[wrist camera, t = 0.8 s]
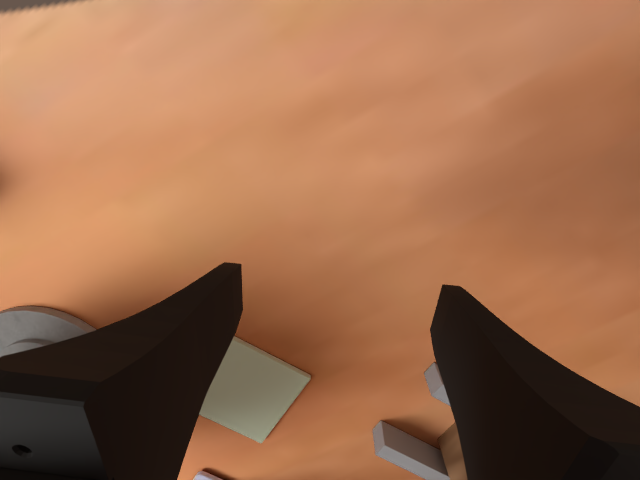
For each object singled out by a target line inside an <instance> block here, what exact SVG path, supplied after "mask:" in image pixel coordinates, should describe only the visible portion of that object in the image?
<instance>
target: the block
mask: <svg viewBox="0 0 640 480" xmlns="http://www.w3.org/2000/svg"><path fill="white" fill-rule="evenodd" d="M438 443H439V446H440V449H441V452H442V456H443V459H444V462H445V465H446V468H447V472H448V475H449V478H450V480H467V474H466V469H465V464H464V458H463V454H462V449H461V444H460V439H459V435H458V430H457V426H456V422H455V423H454V424H453V425H452V426H451V427H450V428H449V429H448V430H447V431H446V432H444V433H443V434H442V435H441V436H440V437H439V438H438Z"/></svg>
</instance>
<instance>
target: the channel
mask: <svg viewBox="0 0 640 480" xmlns="http://www.w3.org/2000/svg"><path fill="white" fill-rule="evenodd" d="M424 375H425V378H426V381H427V384H428V387H429V390H430V393H431V396H433V397H434V398H436V399H438V400H440V401H442V402H444V403H446V404H448V405H449V406H450V403H449V400H448V397H447V393H446V390H445V387H444V384H443V381H442V378H441V375H440V372H439V368H438V365H437V364H436V363H433V364H432V365H431V366H430V367H429V368H428V369H427V370H426V371H425V373H424ZM373 438H374V446H375V455H377V456H379V457H381V458H383V459H385V460H387V461H389V462H391V463H393V464H395V465H397V466H399V467H401V468H403V469H406V470H408V471H410V472H412V473H414V474H416V475H418V476H420V477H422V478H424V479H426V480H450V478H449V475H448V472H447V468H446V465H445V462H444V459H443V456H442V452H441V450H439V449H437V448H435V447H433V446H431V445H429V444H427V443H425V442H423V441H421V440H419V439H417V438H415V437H413V436H411V435H409V434H407V433H405V432H403V431H401V430H399V429H397V428H395V427H393V426H391V425H389V424H387V423H385V422H383V421H380V422H379V423H378V424H377V425H376V426H375V427H374V429H373Z"/></svg>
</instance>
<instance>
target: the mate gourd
mask: <svg viewBox="0 0 640 480" xmlns="http://www.w3.org/2000/svg"><path fill="white" fill-rule="evenodd" d="M95 330H96V329H95V328H93V327H92V326H90V325H89V324H87V323H86V322H84V321H82V320H81V319H79V318H76V317H74V316H72V315H70V314H67V313H65V312H62V311H58V310H55V309H51V308H46V307H38V306H20V307H14V308H10V309H6V310H3V311H1V312H0V357H1V356H4V355H9V354H13V353H17V352H22V351H26V350H30V349H34V348H38V347H42V346H46V345H50V344H53V343H57V342H60V341H64V340H67V339H70V338H74V337H77V336H80V335H83V334H86V333H89V332H92V331H95Z"/></svg>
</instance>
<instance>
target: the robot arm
mask: <svg viewBox="0 0 640 480" xmlns="http://www.w3.org/2000/svg"><path fill="white" fill-rule="evenodd" d="M242 311H243V302H242V275H241V264H235V263H225V262H224V263H223V264H221V265H219V266H218V267H216V268H215V269H213V270H212V271H210V272H209V273H207V274H206V275H204V276H203V277H201V278H199V279H198V280H196V281H195V282H193V283H192V284H190V285H189V286H187V287H185V288H184V289H182V290H180V291H179V292H177V293H175V294H173V295H172V296H170V297H168V298H167V299H165V300H163V301H161V302H159V303H158V304H156V305H154V306H152V307H150V308H148V309H146V310H144V311H141V312H139V313H137V314H135V315H133V316H131V317H128V318H126V319H123V320H121V321H118V322H116V323H113V324H111V325H108V326H105V327H103V328H100V329H98V330H95V331H92V332H89V333H86V334H83V335H80V336H77V337H74V338H70V339H67V340H64V341H60V342H57V343H53V344H50V345H46V346H42V347H38V348H34V349H30V350H26V351H22V352H17V353H13V354H9V355H4V356H1V357H0V480H177V478H178V475H179V472H180V469H181V465H182V462H183V459H184V456H185V453H186V450H187V447H188V444H189V441H190V438H191V436H192V433H193V430H194V427H195V424H196V421H197V418H198V416H199V413H200V410H201V407H202V405H203V402H204V399H205V397H206V394H207V392H208V390H209V387H210V385H211V383H212V381H213V379H214V377H215V375H216V373H217V371H218V369H219V367H220V364H221V362H222V360H223V358H224V356H225V354H226V352H227V350H228V348H229V346H230V344H231V342H232V339H233V337H234V335H235V333H236V330H237V327H238V324H239V321H240V317H241V314H242ZM430 332H431V338H432V345H433V350H434V355H435V359H436V362H437V365H438V368H439V372H440V375H441V378H442V381H443V384H444V387H445V390H446V393H447V397H448V400H449V403H450V406H451V409H452V412H453V415H454V419H455V422H456V426H457V430H458V435H459V439H460V444H461V449H462V454H463V458H464V464H465V469H466V474H467V480H640V407H639V406H637V405H635V404H633V403H631V402H629V401H626V400H624V399H622V398H620V397H618V396H616V395H615V394H613V393H611V392H609V391H607V390H605V389H603V388H601V387H599V386H598V385H596V384H594V383H592V382H591V381H589V380H587V379H585V378H584V377H582V376H580V375H578V374H577V373H575V372H573V371H571V370H570V369H568V368H567V367H565V366H563V365H562V364H560V363H559V362H557V361H556V360H554V359H553V358H551V357H549V356H548V355H546V354H545V353H543V352H542V351H540V350H539V349H538V348H536V347H535V346H533V345H532V344H531V343H529V342H528V341H527V340H525V339H524V338H523V337H521V336H520V335H519V334H517V333H516V332H515V331H513V330H512V329H511V328H510V327H508V326H507V325H506V324H505V323H503V322H502V321H501V320H500V319H499V318H497V317H496V316H495V315H494V314H493V313H492V312H490V311H489V310H488V309H487V308H486V307H485V306H483V305H482V304H481V303H480V302H479V301H478V300H476V299H475V298H474V297H473V296H472V295H471V294H469V293H468V292H467V291H466V290H465V289H463V288H462V287H460V286H453V285H442V288H441V292H440V296H439V299H438V303H437V307H436V310H435V314H434V317H433V321H432V325H431V328H430ZM193 480H223V479H220V478H218V477H216V476H214V475H211V474H209V473H207V472H204V471H200V472H198V473H197V474H196V476H195V477H194V479H193Z"/></svg>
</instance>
